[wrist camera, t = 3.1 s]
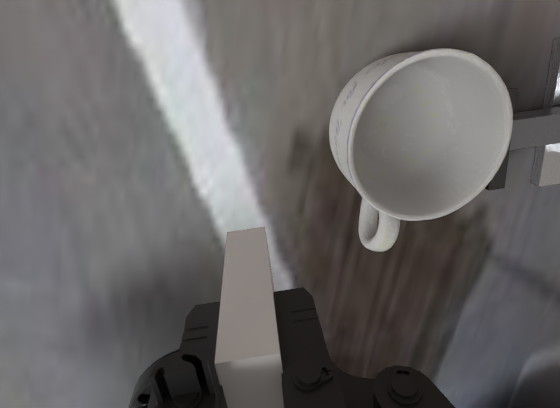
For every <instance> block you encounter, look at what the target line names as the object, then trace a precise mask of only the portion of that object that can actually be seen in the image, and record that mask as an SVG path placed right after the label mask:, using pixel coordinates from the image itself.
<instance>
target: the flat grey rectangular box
mask: <svg viewBox="0 0 560 408" xmlns="http://www.w3.org/2000/svg"><path fill="white" fill-rule="evenodd" d="M553 107H560V38H554V40H553V46H552V52H551V59H550V65H549V71H548V77H547V83H546V89H545V96H544V102H543V108H542V109H546V108H553ZM530 183H531V184H534V185H536V186H538V187H540V186H547V185H554V184H560V143H557V144H550V145H544V146H537V147H536V151H535V157H534V164H533V170H532V176H531V182H530Z"/></svg>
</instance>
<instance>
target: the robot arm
mask: <svg viewBox="0 0 560 408" xmlns="http://www.w3.org/2000/svg"><path fill="white" fill-rule="evenodd" d="M129 408H455V407H454V406H453V405H452V404H451V403H450V402H449V400H448V399H447V398H446V397H445V396H444V395H443V394H442V393H441V391H440V390H439V389H438V388H437V387H436V386H435V385H434V384H433V383H432V381H431V380H430V379H429V378H427V377H426V376H425V375H424V374H422V373H421V372H420V371H417V370H415V369H413V368H410V367H405V366H393V367H388V368H386V369H384V370H382V371H381V372H379V373H378V375H377V376H376V378H375V379H368V378H360V377H355V376H351V375H348V374H346V373H344V372H342V371H341V370H339V369H338V368H337V367H336V366H335V365H334V364H333V363H332V361H331V359H330V357H329V354H328V351H327V347H326V344H325V340H324V337H323V333H322V329H321V326H320V322H319V320H318V315H317V312H316V309H315V305H314V301H313V297H312V296H311V295H310V294H309V293H308V292H307V291H306V290H305V289H304V288H296V289H290V290H284V291H277V292H274V285H273V278H272V271H271V265H270V258H269V252H268V245H267V239H266V232H265V227H260V228H254V229H247V230H240V231H233V232H227V238H226V249H225V259H224V270H223V280H222V291H221V301H220V302H213V303H207V304H201V305H195V307H194V308H193V309H192V311H191V312H190V313H189V315H188V316H187V319H186V323H185V328H184V332H183V337H182V343H181V346H180V351H178V352H175V353H172V354H170V355H167V356H165V357H163V358H161V359H160V360H158V361H157V362H155V363H154V364H152V365H151V366H150V367H149V368H148V369H147V370H146V371H145V372H144V373H143V374H142V375H141V377H140V378H139V380H138V382H137V384H136V386H135V389H134V392H133V395H132V398H131V401H130V404H129Z"/></svg>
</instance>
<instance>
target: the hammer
mask: <svg viewBox="0 0 560 408" xmlns="http://www.w3.org/2000/svg"><path fill="white" fill-rule="evenodd" d="M507 90H508V92H509V96H510V100H511V103H512V110H513V126H512V134H511V139H510V143H509V147H508V150H507V153H506V156H505V158H504V160H503V162H502V164H501V166H500V167H499V169H498V171H497V173H496V174H495V176H494V177H493V179H492V180H491V181H490V182H489V183H488V184H487V185H486V187H485V189H487V190H494V189H500V188H504V187H505V179H506V172H507V164H508V157H509V150H516V149H523V148H530V147H537V146H544V145H550V144H557V143H560V107H553V108H546V109H539V110H532V111H525V112H518V113H514V111H515V104H516V96H517V89H513V88H507Z"/></svg>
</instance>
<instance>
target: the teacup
mask: <svg viewBox="0 0 560 408" xmlns="http://www.w3.org/2000/svg"><path fill="white" fill-rule="evenodd" d="M512 126H513V110H512V103H511V100H510V96H509V92H508V90H507V88H506V86H505V84H504V82H503V81H502V79H501V77H500V76H499V74H498V73H497V72H496V71H495V70H494V69H493V68H492V67H491V65H490V64H488V63H487V62H485V61H484V60H483V59H481V58H480V57H478V56H476V55H475V54H473V53H470V52H466V51H462V50H458V49H451V48H437V49H430V50H425V51H417V52H406V53H399V54H394V55H390V56H387V57H384V58H381V59H379V60H376V61H374V62H372V63H371V64H369V65H367V66H366V67H364V68H363V69H362V70H360V71H359V72H358V73H357V74H356V75H354V76H353V78H352V79H351V80H350V81H349V82H348V83H347V84H346V86H345V87H344V88H343V90H342V91H341V93H340V95H339V97H338V98H337V100H336V103H335V105H334V108H333V111H332V114H331V119H330V125H329V139H330V146H331V150H332V153H333V156H334V159H335V161H336V163H337V165H338V167H339V169H340V170H341V172H342V173H343V175H344V176H345V177H346V178H347V179H348V181H349V182H350V183H351V184H352V185H353V186H354V187H355V188H356V189H357V191H358V192H359V194H360V195H361V197H362V203H361V209H360V217H359V236H360V240H361V242H362V244H363V245H364V246H365V247H366V248H368V249H370V250H372V251H386V250H388V249H389V248H391V247H392V245H393V244H394V243H395V241H396V239H397V236H398V233H399V228H400V219H401V220H408V221H419V220H429V219H435V218H439V217H442V216H445V215H447V214H449V213H452V212H454V211H456V210H458V209H459V208H461V207H463V206H464V205H465V204H467V203H468V202H470V201H471V200H472V199H473V198H475V197H476V196H477V195H478V194H479V193H480V192H481V191H482V190H483V189H484V188H485V187H486V185H487V184H488V183H489V182H490V181H491V180H492V179H493V177H494V176H495V174H496V173H497V171H498V169H499V167H500V166H501V164H502V162H503V160H504V158H505V156H506V153H507V150H508V147H509V143H510V139H511V134H512ZM378 211H379V226H378V230H377V219H378Z"/></svg>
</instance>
